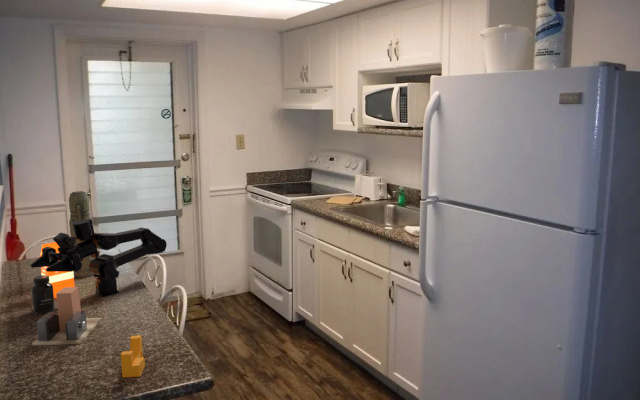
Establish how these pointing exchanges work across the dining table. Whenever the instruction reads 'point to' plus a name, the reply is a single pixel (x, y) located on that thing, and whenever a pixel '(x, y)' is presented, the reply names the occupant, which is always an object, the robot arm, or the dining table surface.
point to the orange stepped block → (133, 358)
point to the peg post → (67, 304)
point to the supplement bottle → (42, 295)
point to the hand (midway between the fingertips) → (38, 268)
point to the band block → (50, 326)
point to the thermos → (79, 212)
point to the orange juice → (57, 274)
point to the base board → (61, 335)
